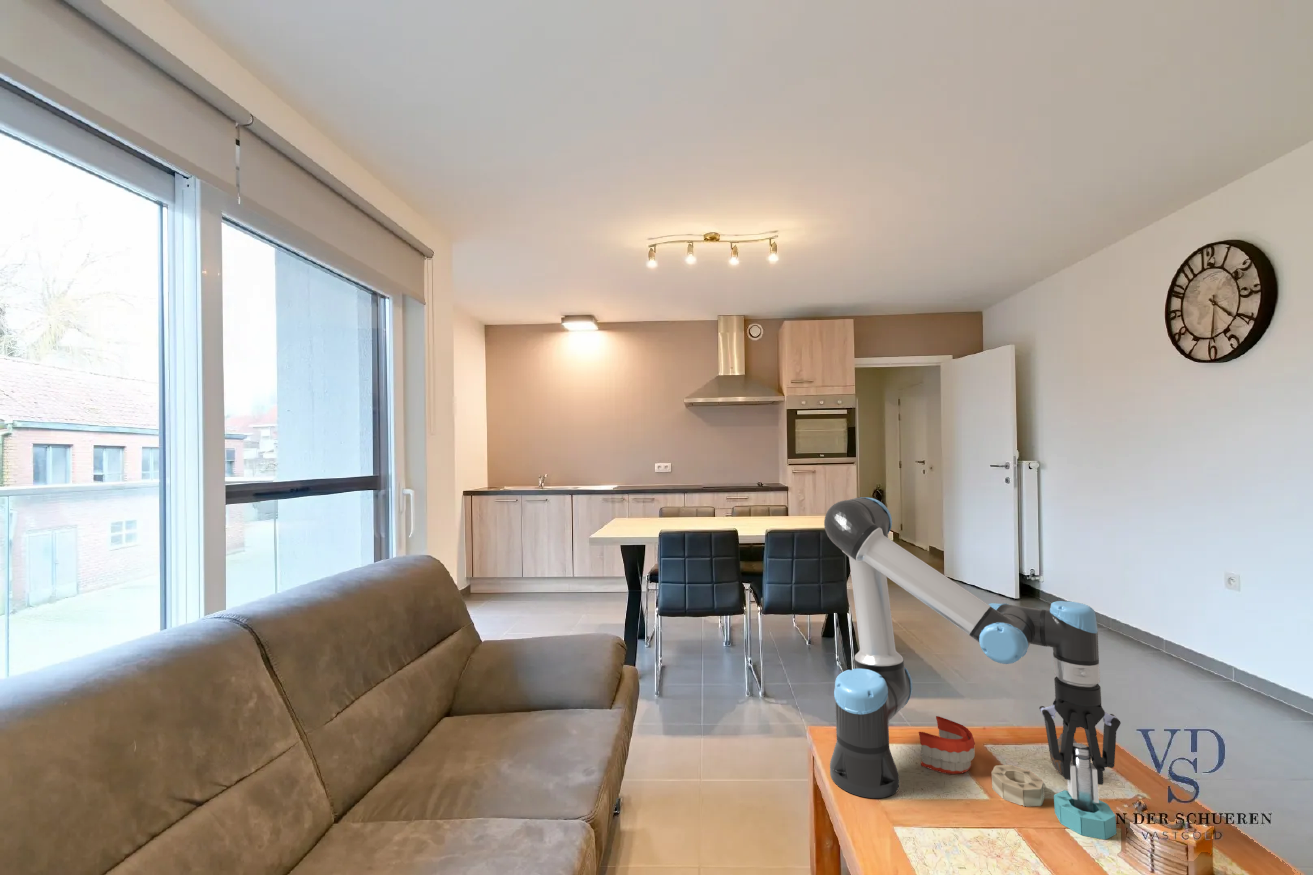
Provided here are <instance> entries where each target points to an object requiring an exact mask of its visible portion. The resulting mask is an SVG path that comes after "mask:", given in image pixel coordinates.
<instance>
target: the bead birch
mask: <svg viewBox="0 0 1313 875" xmlns="http://www.w3.org/2000/svg"><path fill="white" fill-rule="evenodd" d="M991 787H992V791H994V792H995V793H996V794H997V795H998V796H999V797H1000V798H1002V800H1004V801H1007V802H1011V803H1013V804H1016V805H1019V806H1021V805H1023V806H1022V807H1025V806H1026V807H1041V806H1043V803H1044V800H1045V784H1044V780H1043V779H1042V778H1041V777H1040V776H1038V775H1037V774H1036V773H1034V771H1031V770H1028V769H1026V768H1023V767H1019V766H1016V765H1013V764H999V765H994V766H993V769H992V770H991Z"/></svg>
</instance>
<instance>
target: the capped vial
mask: <svg viewBox="0 0 1313 875" xmlns="http://www.w3.org/2000/svg"><path fill="white" fill-rule="evenodd" d="M1072 763H1073V764H1074V765H1075V768H1076V786H1077V800H1076V799H1074V803H1075V807H1076V808H1077V809H1079V810H1081V811H1085V812H1091V813H1093V796H1092V777H1091V763H1092V760H1091V754H1090V748H1089V747H1088V745H1086V744H1083V743H1079V742H1077V743H1073V749H1072Z"/></svg>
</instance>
